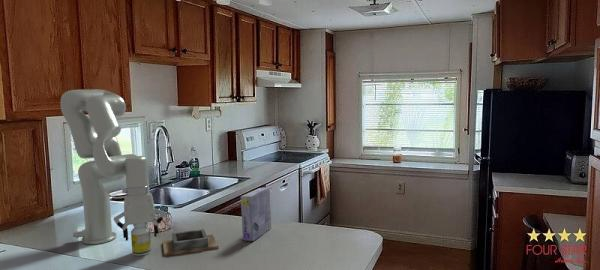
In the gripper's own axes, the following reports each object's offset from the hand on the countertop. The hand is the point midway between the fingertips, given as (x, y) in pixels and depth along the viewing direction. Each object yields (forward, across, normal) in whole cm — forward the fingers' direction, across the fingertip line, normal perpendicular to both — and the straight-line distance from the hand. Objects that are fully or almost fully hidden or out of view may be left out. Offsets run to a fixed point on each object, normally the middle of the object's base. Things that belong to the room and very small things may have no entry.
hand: (141, 237), depth 154 cm
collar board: (+6, +17, 0) cm, 18 cm away
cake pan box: (+6, +44, +3) cm, 44 cm away
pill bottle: (+6, 0, 0) cm, 6 cm away
